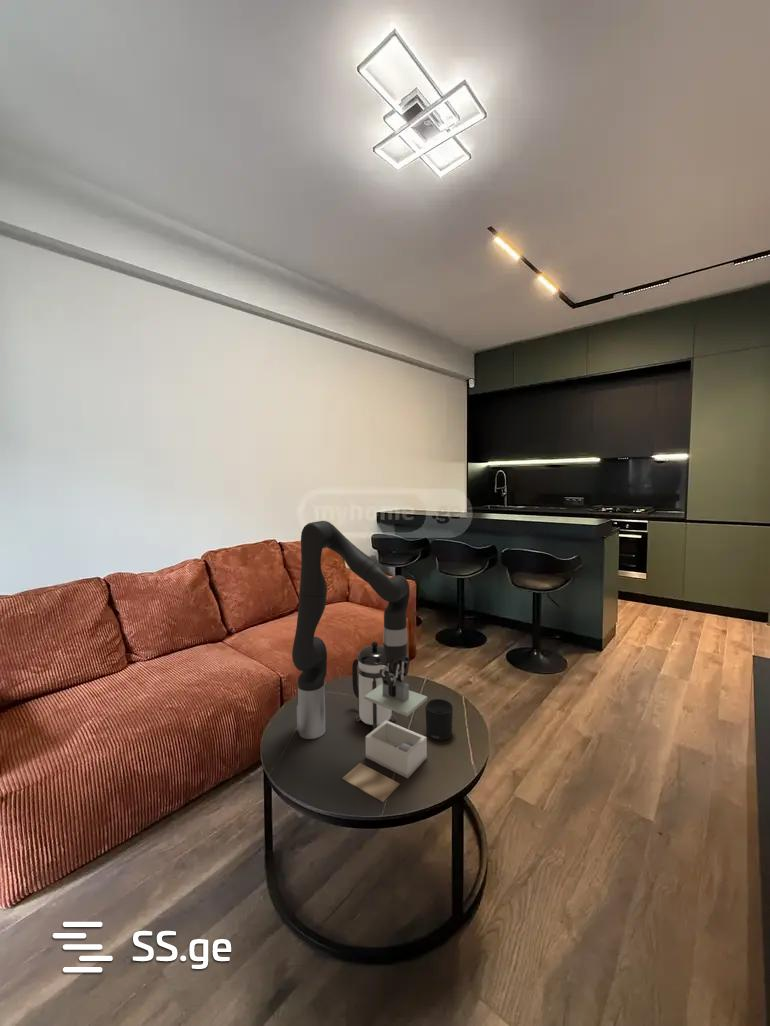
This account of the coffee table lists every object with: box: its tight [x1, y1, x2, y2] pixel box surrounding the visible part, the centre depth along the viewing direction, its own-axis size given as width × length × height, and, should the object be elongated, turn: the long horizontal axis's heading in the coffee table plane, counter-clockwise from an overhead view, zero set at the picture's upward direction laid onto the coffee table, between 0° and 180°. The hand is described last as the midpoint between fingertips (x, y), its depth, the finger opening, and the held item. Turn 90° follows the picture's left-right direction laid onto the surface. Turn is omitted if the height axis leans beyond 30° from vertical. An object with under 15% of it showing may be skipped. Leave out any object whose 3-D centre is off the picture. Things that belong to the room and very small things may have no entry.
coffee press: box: [351, 641, 397, 731], centre depth 150 cm, size 17×16×30 cm
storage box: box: [365, 720, 428, 779], centre depth 130 cm, size 16×11×7 cm
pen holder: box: [425, 698, 454, 742], centre depth 142 cm, size 9×9×10 cm
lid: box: [364, 678, 428, 717], centre depth 129 cm, size 16×11×7 cm
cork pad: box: [342, 762, 401, 803], centre depth 120 cm, size 15×8×1 cm, turn 53°
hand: (395, 693), depth 129 cm, fingers closed on lid, 3 cm apart
